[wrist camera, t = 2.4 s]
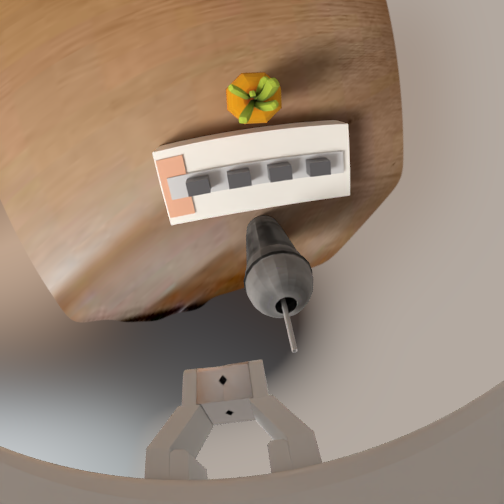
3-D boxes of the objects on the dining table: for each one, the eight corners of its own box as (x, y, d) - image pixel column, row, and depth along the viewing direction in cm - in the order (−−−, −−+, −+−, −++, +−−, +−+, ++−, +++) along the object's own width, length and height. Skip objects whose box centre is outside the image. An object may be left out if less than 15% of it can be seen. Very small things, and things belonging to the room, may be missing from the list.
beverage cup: (292, 206, 39) (349, 306, 22) (285, 253, 42) (327, 363, 25) (237, 205, 38) (256, 311, 21) (235, 253, 41) (250, 370, 24)
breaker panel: (159, 146, 32) (148, 156, 27) (335, 119, 33) (355, 126, 28) (175, 211, 37) (168, 232, 32) (338, 185, 38) (356, 201, 32)
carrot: (234, 123, 32) (245, 144, 19) (215, 88, 30) (213, 83, 17) (271, 106, 31) (309, 116, 19) (254, 70, 29) (280, 54, 16)
